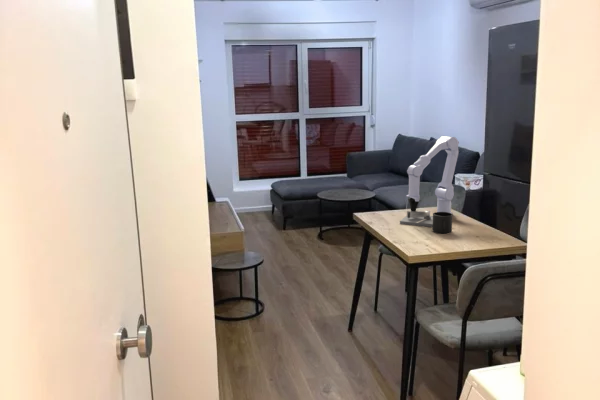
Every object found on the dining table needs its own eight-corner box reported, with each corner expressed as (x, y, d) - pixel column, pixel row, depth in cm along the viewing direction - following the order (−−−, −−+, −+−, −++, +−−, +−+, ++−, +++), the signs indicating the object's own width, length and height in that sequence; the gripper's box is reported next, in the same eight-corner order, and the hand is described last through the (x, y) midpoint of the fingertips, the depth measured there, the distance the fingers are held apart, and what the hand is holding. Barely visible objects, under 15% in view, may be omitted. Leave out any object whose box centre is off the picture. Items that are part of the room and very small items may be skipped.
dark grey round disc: (424, 217, 294) (424, 216, 293) (431, 218, 292) (431, 216, 292) (423, 219, 290) (423, 217, 290) (429, 219, 289) (429, 218, 289)
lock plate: (408, 216, 303) (408, 213, 302) (448, 220, 293) (448, 217, 293) (399, 223, 287) (399, 220, 287) (441, 228, 278) (441, 224, 277)
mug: (433, 235, 265) (434, 217, 263) (431, 228, 277) (432, 211, 275) (453, 235, 264) (454, 217, 262) (450, 229, 276) (451, 211, 274)
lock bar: (429, 216, 292) (429, 210, 292) (430, 217, 290) (430, 211, 289) (406, 216, 292) (406, 211, 291) (408, 218, 289) (408, 212, 288)
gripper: (403, 184, 300) (402, 208, 303) (410, 190, 286) (409, 215, 289) (416, 184, 300) (415, 208, 303) (423, 189, 286) (422, 214, 289)
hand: (413, 211), depth 296 cm, fingers closed
